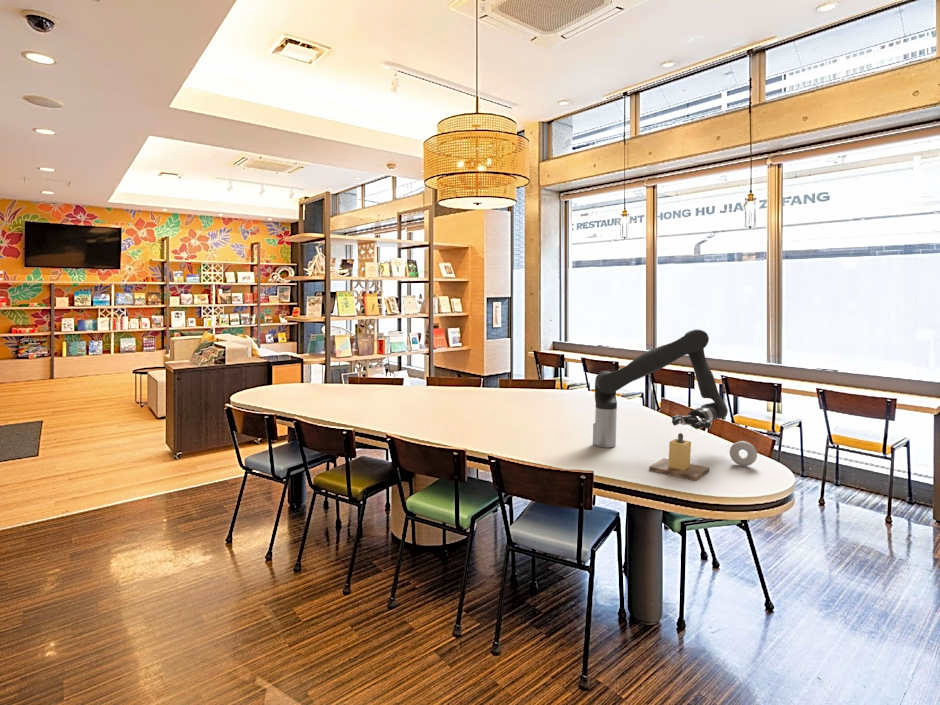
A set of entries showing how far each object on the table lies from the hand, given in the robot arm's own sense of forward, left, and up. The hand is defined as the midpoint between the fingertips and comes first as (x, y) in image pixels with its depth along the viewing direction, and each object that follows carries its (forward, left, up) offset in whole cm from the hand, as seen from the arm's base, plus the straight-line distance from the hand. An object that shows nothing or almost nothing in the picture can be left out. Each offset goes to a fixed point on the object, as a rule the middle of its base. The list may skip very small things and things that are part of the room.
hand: (685, 424), depth 217 cm
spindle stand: (0, -4, -17) cm, 18 cm away
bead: (0, -4, -16) cm, 17 cm away
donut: (+17, +19, -18) cm, 31 cm away
